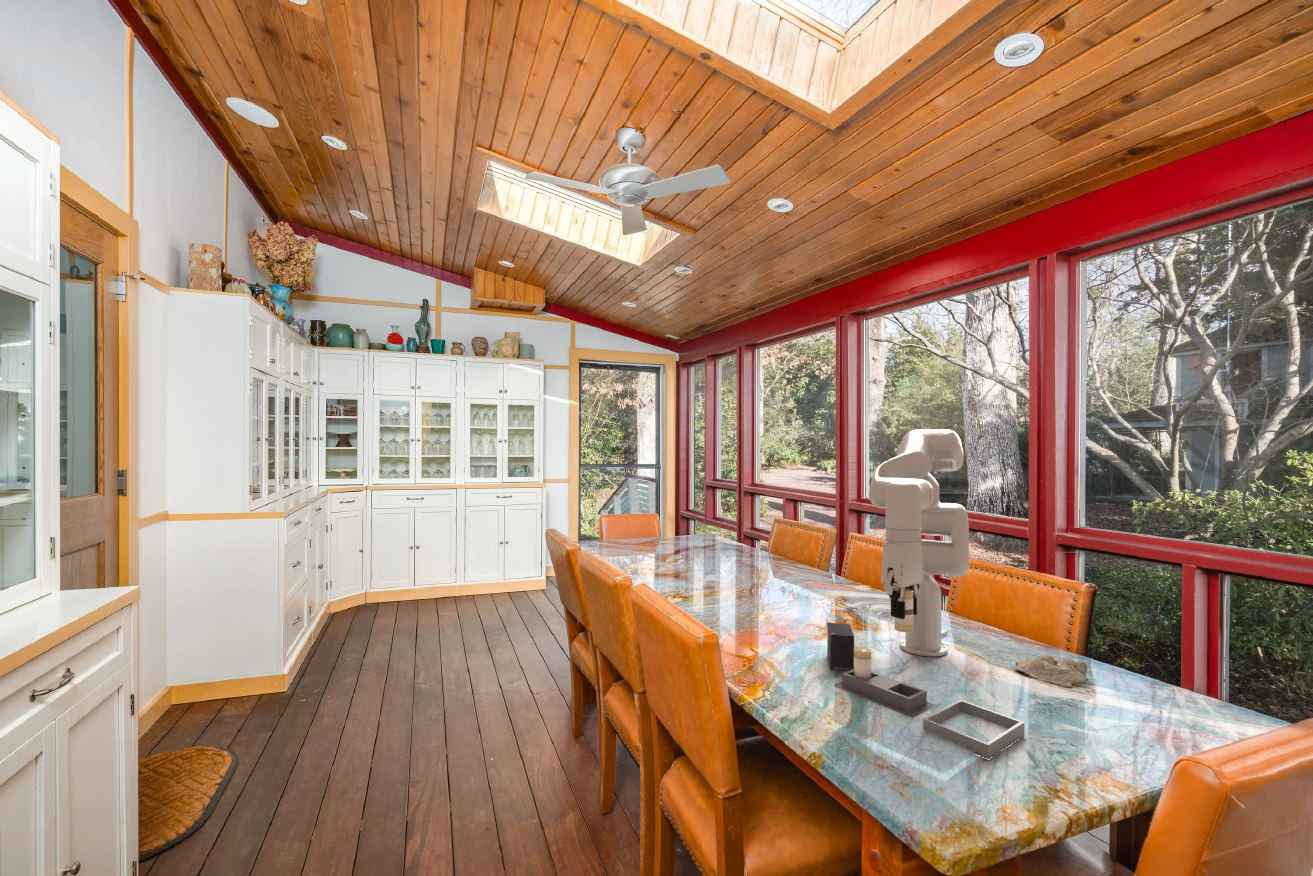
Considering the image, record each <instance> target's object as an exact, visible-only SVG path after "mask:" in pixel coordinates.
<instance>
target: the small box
mask: <svg viewBox="0 0 1313 876" xmlns="http://www.w3.org/2000/svg"><path fill="white" fill-rule="evenodd" d="M826 625H827V642H826V643H827V646H826V647H827V648H826V649H827V650H826V653H827V656H826V657H827V663H828V668H829V670H830V671H833V672H847V671H850V670H853V669H854V648H855V635H854V632H853V629H852V627H851V624H850V623H839V622H829V621H828V622H827V624H826Z"/></svg>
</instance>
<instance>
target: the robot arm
mask: <svg viewBox="0 0 1313 876" xmlns="http://www.w3.org/2000/svg"><path fill="white" fill-rule="evenodd" d="M963 465H964V449H963V446H962V440H961V438H960V436H959V435H958V433H957V432H955V430H951V429H946V428H945V429H943V428H942V429H937V428H934V429H927V428H926V429H913V430H910V431H908V432H907V433H905V435H903V437H902V439H901V443H900V444H899V445H898V447H897V449H896V456H895V457H892V458H889V459H887V460H886V461H884V462H883V463H880V464H879V465H878V466H877V467H876V469H875V470H874V473H873V474H872V477H871V481H870V485H869V490H868V496H869V500H870V502H871V504H872V505H873V506H874V507H876V508H878V509H885V542H884V545H883V549H882V550H883V551H882V557H881V558H882V560H881V572H880V573H881V576H880V579H881V584H882V585H884V586H883V591H884V592H886V593H887V595H888V599H889V600H890V615H891V617H893V618H894V617H895V618H899V619H905V601H903V595H904V588H908V589H912V590H913V611H914V613H913V625H914V631H913V632H904V635H905V637H904V638H903V639H901V640H900V641H899V647H900V649H901V650H903V651H905V652H907V653H910V654H913V655H917V656H922V657H941V656H944V655H947V653H948V647H947V645H946V644H944V643H942V640H943V639H944V638H947V636H948V632H947V631H946V630H942V590H941V587H940V584H938V582H937V581H936V579H935V578H934V577H933V576H932V575H935V576H937V575H938V576H947V577H950V576H951V577H964V576H966V575H967V574H968V571H969V567H970V537H969V536H970V533H969V532H970V529H969V528H970V524H969V515H968V512H967V509H966V507H964V506H963V505H962V504H959V503H951V502H940V485H939V483H938V481H937V480H936V478H934V477H933V475H932V474H931V473H930V472H956V471H959V470H960V469H961V468H962V467H963ZM923 535H924V536H936V537H947V538H949V540H951V541H947V540H946V541H944V540H943V541H942V540H934V539H922V536H923ZM895 589H898V590H899V594H898V592H897V591H896V590H895ZM895 618H894V619H895Z"/></svg>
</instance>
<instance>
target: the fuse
mask: <svg viewBox="0 0 1313 876" xmlns="http://www.w3.org/2000/svg"><path fill="white" fill-rule="evenodd" d="M871 671H872V649H870V648H868V647H864V646H857V647H854V677H857V678H859V679H862V680H865V681H866V680H869V679H871Z"/></svg>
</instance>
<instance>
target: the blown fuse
mask: <svg viewBox="0 0 1313 876" xmlns="http://www.w3.org/2000/svg"><path fill="white" fill-rule="evenodd" d="M895 590H896V591H897V592H898V594H899V590H898V589H895ZM903 601H905V619H899V618H895V617H893V618H894V630H896V631H898V632H901V633H905V632H913V631H914V625H913V613H914V611H913V590H912V589H908V588H904V595H903Z"/></svg>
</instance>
